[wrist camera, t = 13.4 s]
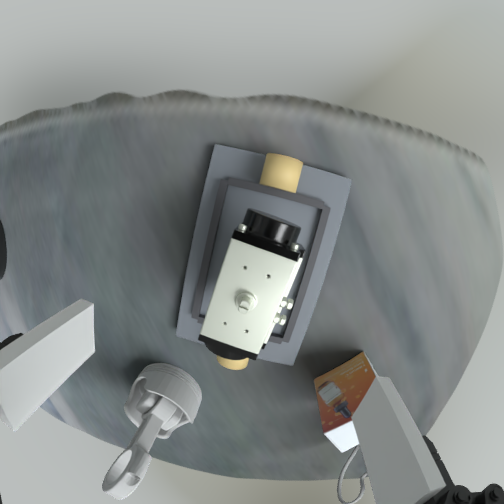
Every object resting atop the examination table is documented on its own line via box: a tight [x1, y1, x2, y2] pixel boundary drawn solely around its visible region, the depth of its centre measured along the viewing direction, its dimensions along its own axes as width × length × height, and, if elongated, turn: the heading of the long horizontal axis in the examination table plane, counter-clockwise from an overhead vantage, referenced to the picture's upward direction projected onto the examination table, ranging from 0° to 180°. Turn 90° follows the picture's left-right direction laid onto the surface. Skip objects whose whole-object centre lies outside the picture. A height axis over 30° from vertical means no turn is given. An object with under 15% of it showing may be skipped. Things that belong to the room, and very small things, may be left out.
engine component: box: [102, 363, 202, 500], centre depth 26 cm, size 11×20×10 cm
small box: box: [314, 352, 378, 452], centre depth 28 cm, size 8×6×10 cm
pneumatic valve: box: [198, 208, 306, 360], centre depth 23 cm, size 6×12×12 cm, turn 160°
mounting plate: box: [176, 144, 352, 370], centre depth 28 cm, size 23×15×5 cm, turn 166°
